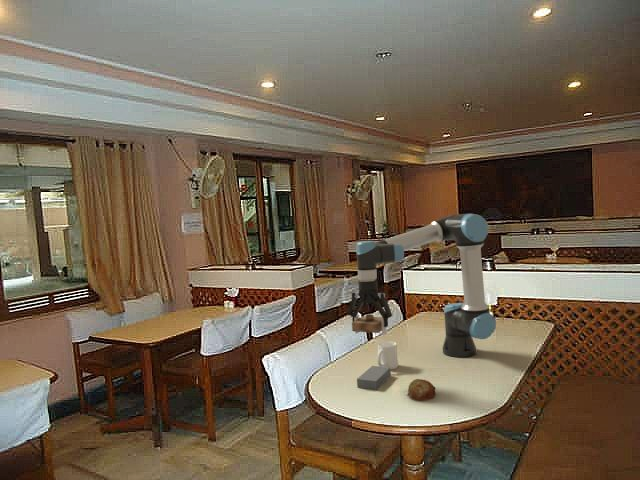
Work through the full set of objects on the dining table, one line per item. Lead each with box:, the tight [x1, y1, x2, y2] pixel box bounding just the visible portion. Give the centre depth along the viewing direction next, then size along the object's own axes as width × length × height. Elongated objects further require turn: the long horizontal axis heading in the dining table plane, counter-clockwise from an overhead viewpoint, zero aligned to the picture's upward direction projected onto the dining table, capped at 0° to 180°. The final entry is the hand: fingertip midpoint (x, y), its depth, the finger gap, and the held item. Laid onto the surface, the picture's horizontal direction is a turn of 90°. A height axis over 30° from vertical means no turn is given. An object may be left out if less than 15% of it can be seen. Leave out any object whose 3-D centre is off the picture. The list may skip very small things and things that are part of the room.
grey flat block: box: [356, 365, 392, 391], centre depth 192 cm, size 8×16×4 cm, turn 151°
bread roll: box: [407, 378, 437, 402], centre depth 175 cm, size 10×10×8 cm
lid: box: [351, 313, 383, 334], centre depth 190 cm, size 11×11×6 cm
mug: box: [376, 341, 399, 371], centre depth 206 cm, size 12×8×10 cm
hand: (370, 333), depth 191 cm, fingers closed on lid, 11 cm apart
